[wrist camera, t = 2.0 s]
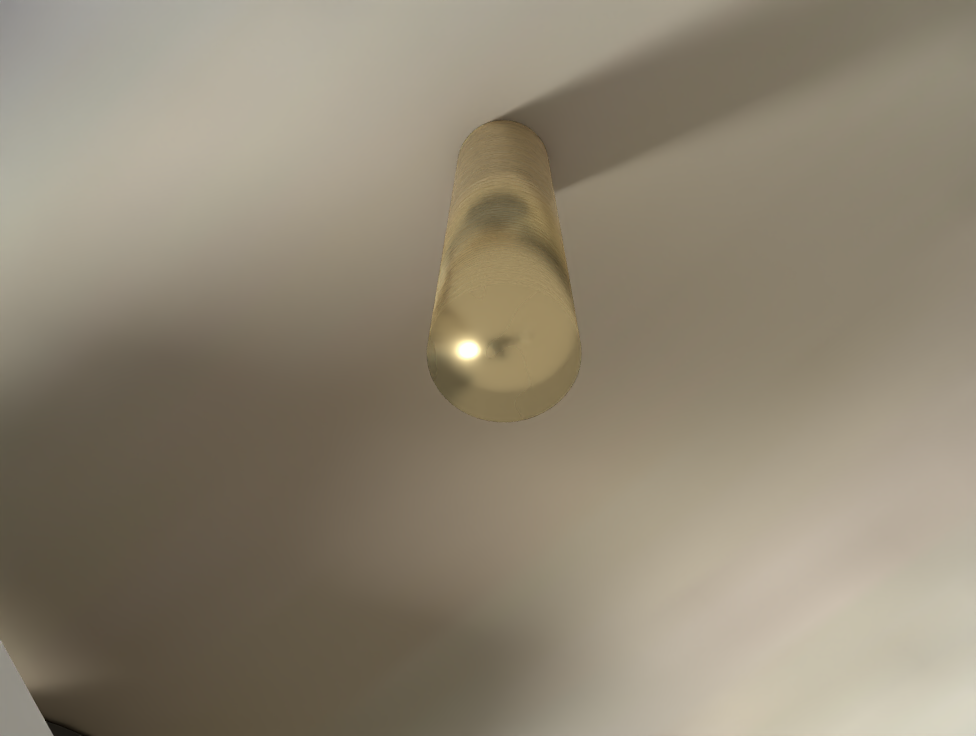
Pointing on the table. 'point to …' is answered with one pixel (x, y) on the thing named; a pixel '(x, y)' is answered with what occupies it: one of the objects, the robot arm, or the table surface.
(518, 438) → the table surface
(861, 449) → the table surface
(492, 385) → the brass peg
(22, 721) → the robot arm
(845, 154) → the table surface
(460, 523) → the table surface
